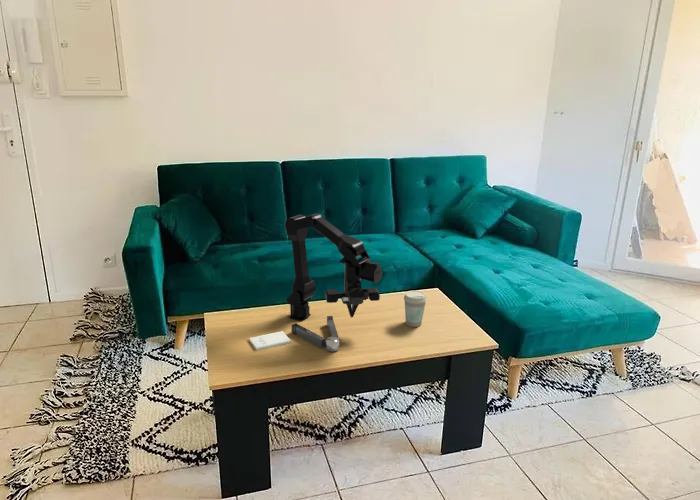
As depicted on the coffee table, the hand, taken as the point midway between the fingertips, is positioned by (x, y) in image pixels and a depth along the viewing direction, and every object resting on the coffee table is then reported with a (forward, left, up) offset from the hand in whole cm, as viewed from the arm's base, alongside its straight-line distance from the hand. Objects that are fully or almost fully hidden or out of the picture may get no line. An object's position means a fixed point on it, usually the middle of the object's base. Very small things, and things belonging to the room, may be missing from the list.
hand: (351, 317), depth 189 cm
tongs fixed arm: (-11, -11, -6) cm, 17 cm away
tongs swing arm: (-5, -7, -6) cm, 10 cm away
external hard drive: (-22, -19, -7) cm, 30 cm away
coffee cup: (+18, +18, -7) cm, 26 cm away
